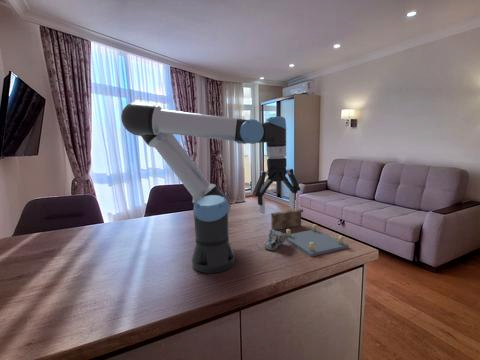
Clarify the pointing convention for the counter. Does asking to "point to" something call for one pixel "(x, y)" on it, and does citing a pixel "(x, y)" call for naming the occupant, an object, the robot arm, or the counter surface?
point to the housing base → (315, 242)
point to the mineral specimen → (275, 239)
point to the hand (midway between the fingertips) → (277, 210)
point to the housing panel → (286, 219)
